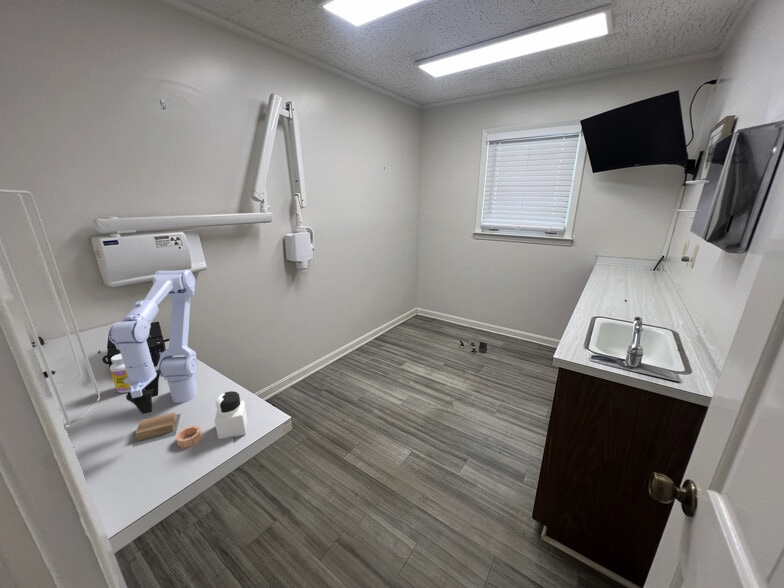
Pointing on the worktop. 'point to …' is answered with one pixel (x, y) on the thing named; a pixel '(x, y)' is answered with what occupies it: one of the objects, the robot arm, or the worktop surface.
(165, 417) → the tan cardboard box
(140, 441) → the mat
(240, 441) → the worktop surface
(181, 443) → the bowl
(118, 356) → the supplement bottle
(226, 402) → the medicine bottle
